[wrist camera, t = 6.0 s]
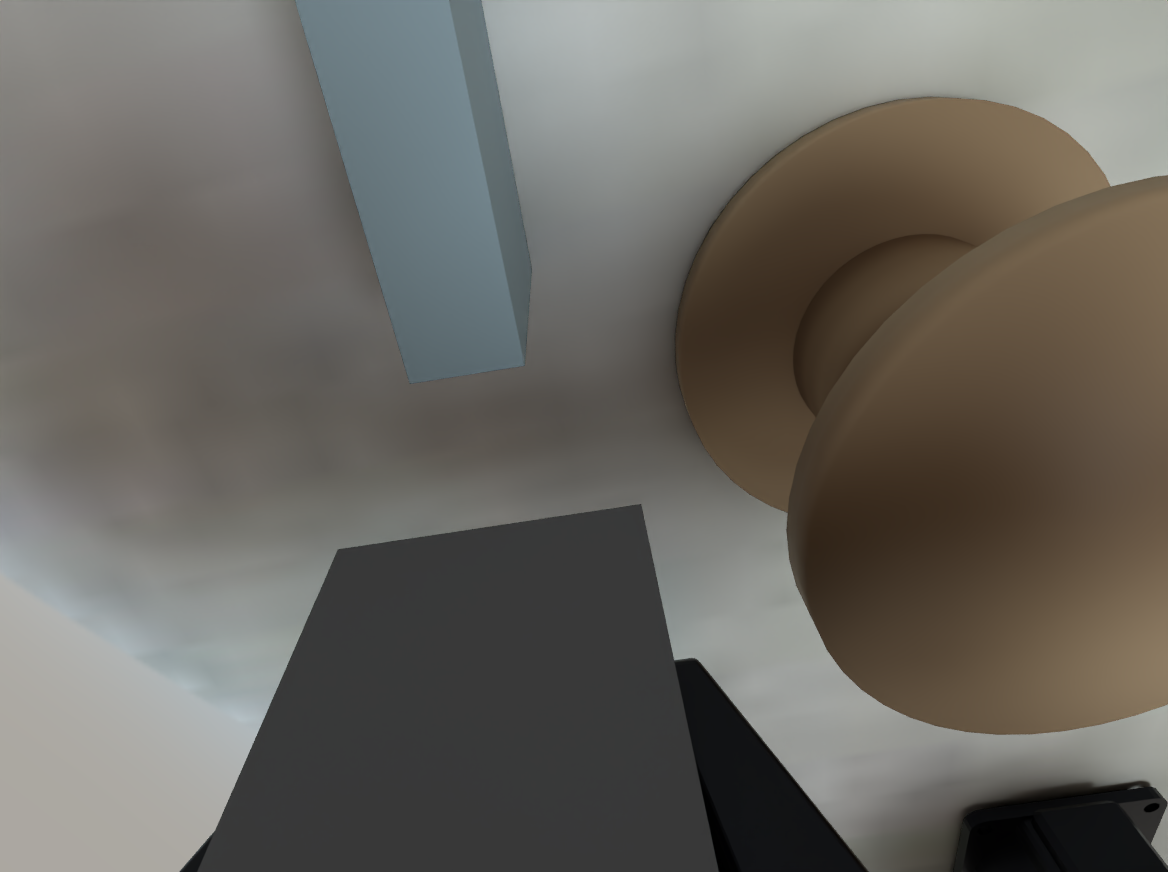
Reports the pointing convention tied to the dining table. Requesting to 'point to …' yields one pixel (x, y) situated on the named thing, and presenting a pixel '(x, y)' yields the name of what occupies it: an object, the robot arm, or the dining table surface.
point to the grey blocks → (428, 175)
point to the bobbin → (951, 407)
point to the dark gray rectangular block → (478, 714)
